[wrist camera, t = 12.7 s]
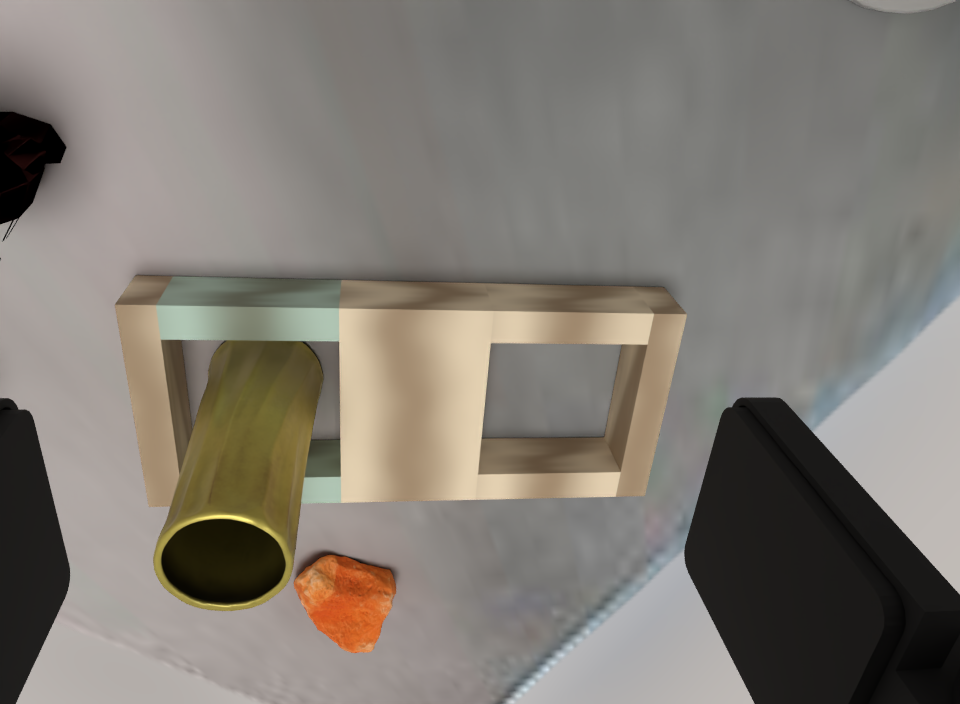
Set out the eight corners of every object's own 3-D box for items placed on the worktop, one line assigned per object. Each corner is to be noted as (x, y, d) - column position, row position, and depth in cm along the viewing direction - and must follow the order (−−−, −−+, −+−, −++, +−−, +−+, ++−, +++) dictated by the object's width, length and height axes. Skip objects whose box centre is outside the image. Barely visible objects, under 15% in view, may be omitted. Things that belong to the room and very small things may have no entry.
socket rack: (663, 287, 42) (687, 314, 39) (626, 460, 47) (644, 495, 44) (135, 275, 37) (115, 304, 34) (164, 467, 43) (148, 506, 40)
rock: (297, 480, 46) (291, 528, 42) (469, 539, 50) (477, 587, 46) (225, 610, 50) (214, 663, 46) (389, 654, 54) (390, 707, 50)
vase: (333, 413, 43) (318, 606, 30) (226, 430, 42) (168, 632, 30) (310, 319, 40) (284, 491, 27) (194, 337, 39) (115, 519, 27)
